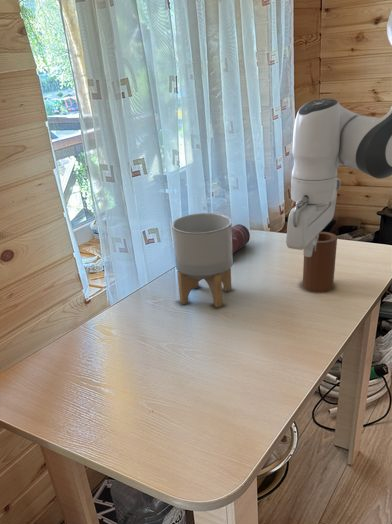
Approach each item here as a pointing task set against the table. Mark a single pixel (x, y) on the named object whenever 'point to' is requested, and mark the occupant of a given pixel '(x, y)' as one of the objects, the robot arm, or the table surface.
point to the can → (239, 237)
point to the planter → (203, 253)
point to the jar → (321, 264)
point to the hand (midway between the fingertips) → (309, 254)
